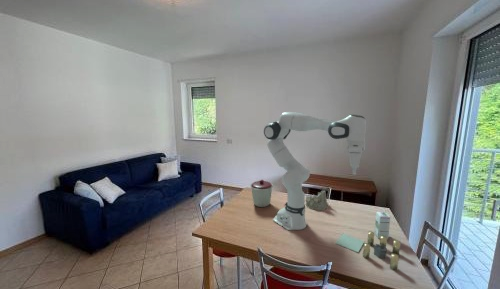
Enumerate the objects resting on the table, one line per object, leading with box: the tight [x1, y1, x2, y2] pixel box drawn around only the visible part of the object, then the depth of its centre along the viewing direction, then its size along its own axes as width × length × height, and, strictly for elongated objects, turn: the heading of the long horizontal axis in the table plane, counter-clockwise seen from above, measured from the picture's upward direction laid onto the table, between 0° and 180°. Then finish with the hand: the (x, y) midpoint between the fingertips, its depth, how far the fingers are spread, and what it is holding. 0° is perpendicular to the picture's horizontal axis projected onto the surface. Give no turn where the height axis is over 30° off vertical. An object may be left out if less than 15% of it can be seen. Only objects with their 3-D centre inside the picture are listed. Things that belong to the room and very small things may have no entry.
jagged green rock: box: [305, 190, 329, 211], centre depth 166 cm, size 16×16×15 cm
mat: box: [335, 233, 365, 254], centre depth 121 cm, size 12×12×1 cm
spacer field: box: [362, 230, 401, 272], centre depth 110 cm, size 16×16×7 cm
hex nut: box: [373, 243, 388, 259], centre depth 110 cm, size 6×5×5 cm
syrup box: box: [374, 211, 391, 240], centre depth 125 cm, size 6×6×14 cm
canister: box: [250, 179, 274, 208], centre depth 169 cm, size 18×18×21 cm
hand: (354, 171), depth 111 cm, fingers open, 8 cm apart
